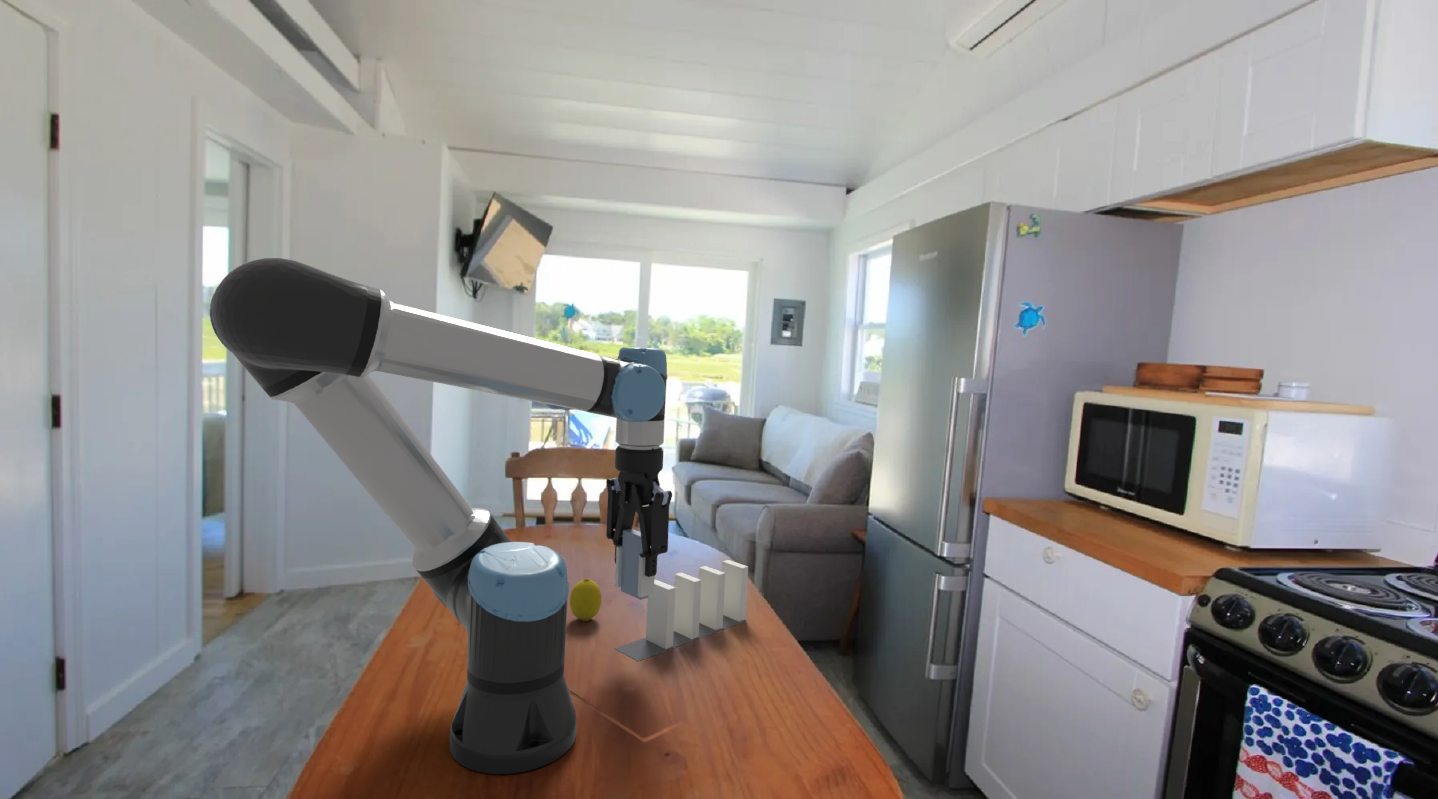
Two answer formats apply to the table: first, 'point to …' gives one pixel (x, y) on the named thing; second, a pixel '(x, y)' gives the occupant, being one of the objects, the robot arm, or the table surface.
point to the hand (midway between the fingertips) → (634, 589)
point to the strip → (647, 649)
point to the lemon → (585, 599)
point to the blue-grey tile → (631, 562)
